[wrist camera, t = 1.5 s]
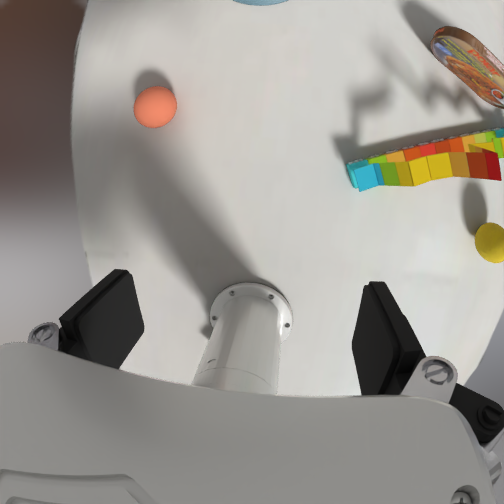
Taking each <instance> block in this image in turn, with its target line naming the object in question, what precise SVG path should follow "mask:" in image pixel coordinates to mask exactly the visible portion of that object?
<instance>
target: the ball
mask: <svg viewBox="0 0 504 504" xmlns="http://www.w3.org/2000/svg"><path fill="white" fill-rule="evenodd" d="M176 109H177V102H176V98H175V96H174V94H173V93H172V92H171V91H170V90H168V89H167V88H164V87H160V86H155V87H150V88H147V89H146V90H144V91H143V92H141V93H140V94H139V96H138V97H137V99H136V101H135V103H134V115H135V117H136V119H137V120H138V122H139V123H140V124H142V125H144V126H146V127H149V128H157V127H161V126H163V125H165V124H167V123H168V122H169V121H170V120H171V119H172V118H173V116H174V115H175V112H176Z"/></svg>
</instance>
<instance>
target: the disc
mask: <svg viewBox="0 0 504 504" xmlns="http://www.w3.org/2000/svg"><path fill="white" fill-rule="evenodd" d="M234 1H236V2H239V3H243V4H248V5H272V4H278V3H282V2H285V1H288V0H234Z"/></svg>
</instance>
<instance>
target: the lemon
mask: <svg viewBox="0 0 504 504" xmlns="http://www.w3.org/2000/svg"><path fill="white" fill-rule="evenodd" d="M475 246H476V249H477V251H478V253H479V254H480V255H481V256H482V257H483V258H484V259H485V260H487V261H489V262H492V263H500V262H502V261H504V229H503V228H502V227H501V226H499V225H498V224H495V223H485V224H483V225H481V226H480V227H479V229H478V230H477V232H476V235H475Z"/></svg>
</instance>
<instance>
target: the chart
mask: <svg viewBox="0 0 504 504" xmlns="http://www.w3.org/2000/svg"><path fill="white" fill-rule="evenodd" d="M499 158H504V127H503V128H494V129H492V130H491V129H488V130H483V131H482V132H480V131H477V132H472V133H470V134H469V133H466V134H462V135H460V136H458V137H456V136H452V137H448V139H438V140H433V141H431V143H429V142H424V143H420V144H418V146H414V145H412V146H408V147H404V148H403V149H401V150H397V149H395V150H392V151H388V152H386V154H382V155H379V154H377V155H373V156H369V158H367V159H363V158H362V159H358V160H355V161H351V162H348V163H349V164H346V166H347V169H348V172H349V176H350V179H351V183H352V186H353V187H354V188H359V191H360V192H361V191H364V190H367V189H370V188H373V187H376V186H379V185H388V186H417V185H420V184H423V183H426V182H428V181H431V180H437V179H442V178H448V177H453V176H455V177H468V178H480V179H490V180H499V181H502V180H501V172H500V165H499Z"/></svg>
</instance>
